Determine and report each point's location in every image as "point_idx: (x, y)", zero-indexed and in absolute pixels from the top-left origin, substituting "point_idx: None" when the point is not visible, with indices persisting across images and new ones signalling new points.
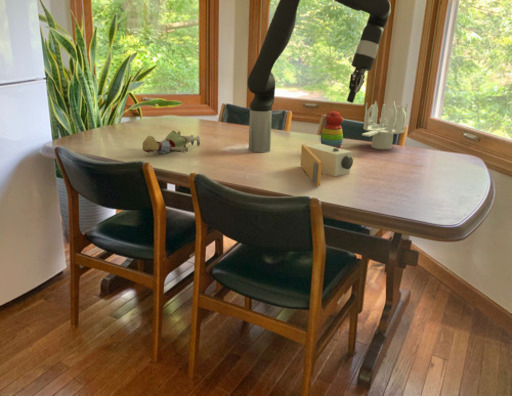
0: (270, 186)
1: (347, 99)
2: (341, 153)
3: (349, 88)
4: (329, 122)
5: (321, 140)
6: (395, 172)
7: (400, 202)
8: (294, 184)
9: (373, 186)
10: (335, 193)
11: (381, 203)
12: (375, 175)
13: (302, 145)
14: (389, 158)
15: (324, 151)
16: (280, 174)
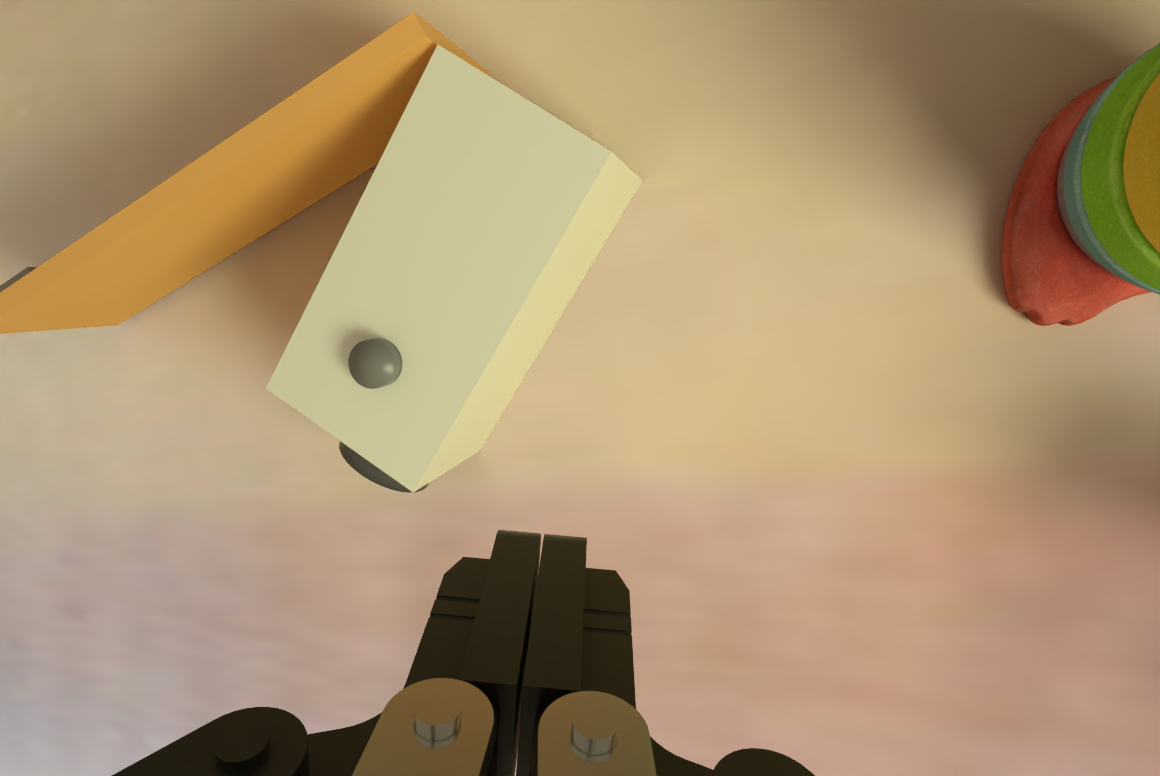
0: (14, 57)
1: (496, 547)
2: (313, 419)
3: (241, 723)
4: None
5: (1146, 53)
6: None
7: (106, 722)
8: (106, 174)
9: (276, 604)
10: (78, 421)
11: (55, 639)
12: None
13: (385, 32)
14: (1102, 734)
15: (324, 272)
16: (242, 15)
